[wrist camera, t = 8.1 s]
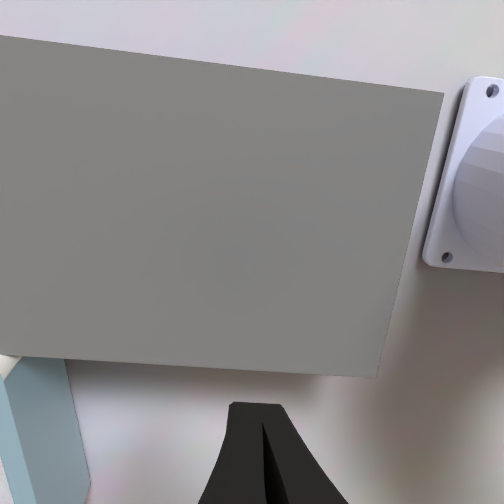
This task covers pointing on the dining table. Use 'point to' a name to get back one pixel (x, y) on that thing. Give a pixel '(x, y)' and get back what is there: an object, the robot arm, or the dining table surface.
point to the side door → (40, 432)
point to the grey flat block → (202, 210)
